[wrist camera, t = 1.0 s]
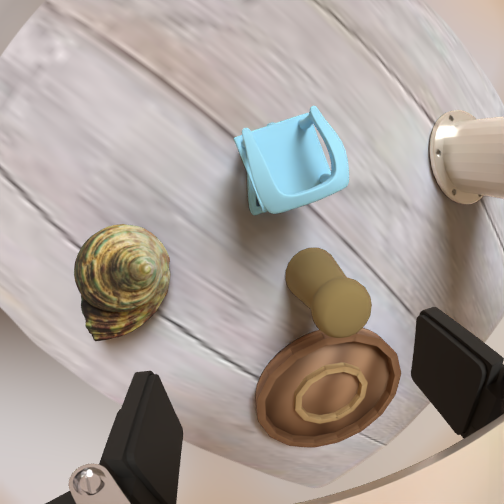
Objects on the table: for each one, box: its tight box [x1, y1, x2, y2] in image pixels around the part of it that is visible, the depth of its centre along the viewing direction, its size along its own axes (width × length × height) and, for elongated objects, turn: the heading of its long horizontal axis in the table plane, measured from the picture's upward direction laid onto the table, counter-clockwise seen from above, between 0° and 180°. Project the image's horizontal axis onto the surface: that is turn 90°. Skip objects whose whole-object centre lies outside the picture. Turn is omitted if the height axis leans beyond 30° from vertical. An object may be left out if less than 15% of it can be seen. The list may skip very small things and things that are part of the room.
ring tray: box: [256, 328, 401, 447], centre depth 37 cm, size 20×20×2 cm
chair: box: [234, 106, 349, 215], centre depth 25 cm, size 8×8×12 cm
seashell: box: [74, 224, 170, 341], centre depth 27 cm, size 11×11×10 cm
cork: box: [285, 248, 372, 338], centre depth 28 cm, size 6×6×11 cm
